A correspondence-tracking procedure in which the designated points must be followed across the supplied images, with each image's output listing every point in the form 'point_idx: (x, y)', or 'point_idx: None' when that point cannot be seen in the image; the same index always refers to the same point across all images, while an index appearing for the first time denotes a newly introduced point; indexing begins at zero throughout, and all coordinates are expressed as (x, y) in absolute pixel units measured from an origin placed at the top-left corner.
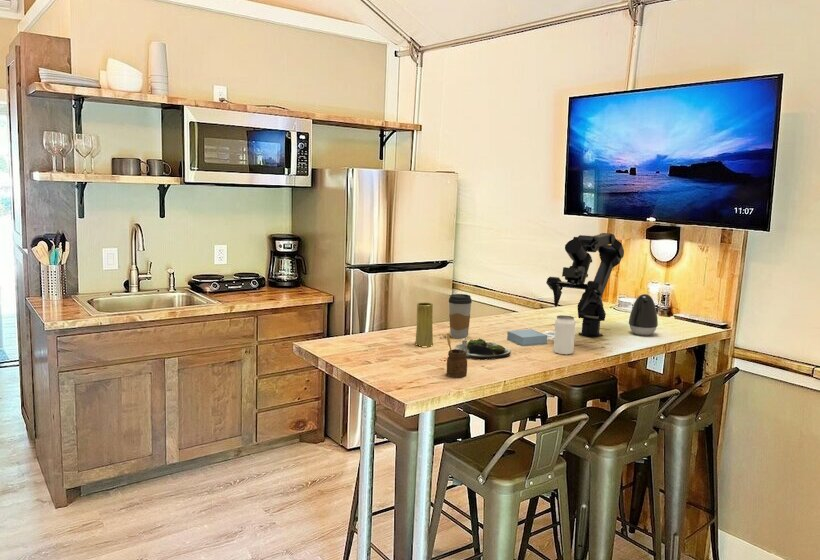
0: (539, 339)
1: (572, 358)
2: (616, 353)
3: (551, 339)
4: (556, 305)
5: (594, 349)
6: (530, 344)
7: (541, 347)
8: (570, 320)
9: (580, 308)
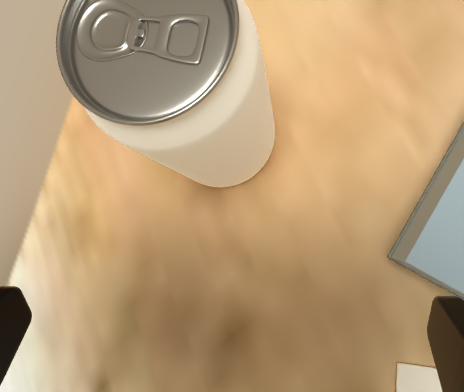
0: (429, 205)
1: None
2: None
3: (416, 374)
4: (437, 341)
5: (119, 311)
6: (451, 147)
7: (369, 152)
8: (80, 6)
9: (4, 290)
